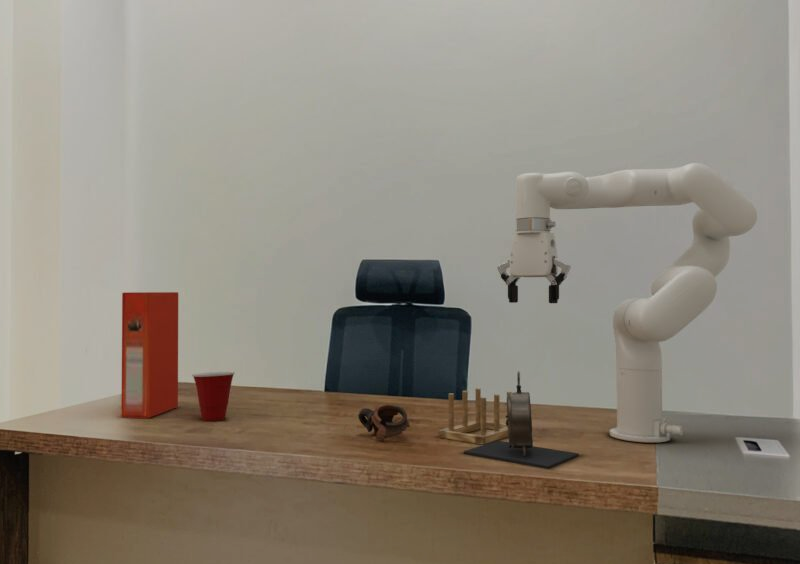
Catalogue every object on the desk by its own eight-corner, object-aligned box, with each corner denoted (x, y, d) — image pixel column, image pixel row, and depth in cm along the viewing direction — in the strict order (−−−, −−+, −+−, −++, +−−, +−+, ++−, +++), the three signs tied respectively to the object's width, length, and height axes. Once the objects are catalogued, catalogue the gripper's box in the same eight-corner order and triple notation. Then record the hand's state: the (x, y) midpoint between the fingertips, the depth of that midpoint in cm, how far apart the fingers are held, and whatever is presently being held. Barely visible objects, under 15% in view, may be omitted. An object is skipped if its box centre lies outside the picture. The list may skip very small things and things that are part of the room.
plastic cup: (219, 413, 188) (219, 368, 188) (243, 419, 180) (243, 371, 180) (183, 418, 180) (183, 371, 181) (206, 424, 173) (206, 375, 173)
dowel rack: (520, 432, 166) (520, 391, 166) (483, 444, 152) (483, 399, 153) (478, 426, 173) (478, 386, 173) (438, 437, 160) (438, 394, 160)
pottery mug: (410, 435, 163) (415, 407, 160) (398, 461, 156) (403, 433, 152) (362, 419, 167) (366, 391, 163) (347, 443, 159) (351, 415, 155)
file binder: (120, 417, 182) (122, 292, 183) (150, 406, 199) (152, 292, 200) (149, 418, 180) (151, 292, 181) (177, 407, 197) (179, 292, 198)
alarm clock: (533, 459, 137) (533, 374, 138) (504, 457, 139) (504, 373, 139) (531, 447, 148) (531, 368, 148) (505, 445, 149) (505, 367, 150)
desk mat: (578, 455, 142) (578, 453, 142) (548, 468, 132) (548, 466, 132) (497, 442, 154) (497, 440, 154) (464, 453, 144) (463, 451, 144)
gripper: (576, 226, 159) (576, 303, 159) (506, 230, 171) (506, 302, 170) (562, 224, 154) (562, 303, 153) (490, 228, 165) (490, 302, 164)
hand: (532, 302), depth 162 cm, fingers open, 9 cm apart
